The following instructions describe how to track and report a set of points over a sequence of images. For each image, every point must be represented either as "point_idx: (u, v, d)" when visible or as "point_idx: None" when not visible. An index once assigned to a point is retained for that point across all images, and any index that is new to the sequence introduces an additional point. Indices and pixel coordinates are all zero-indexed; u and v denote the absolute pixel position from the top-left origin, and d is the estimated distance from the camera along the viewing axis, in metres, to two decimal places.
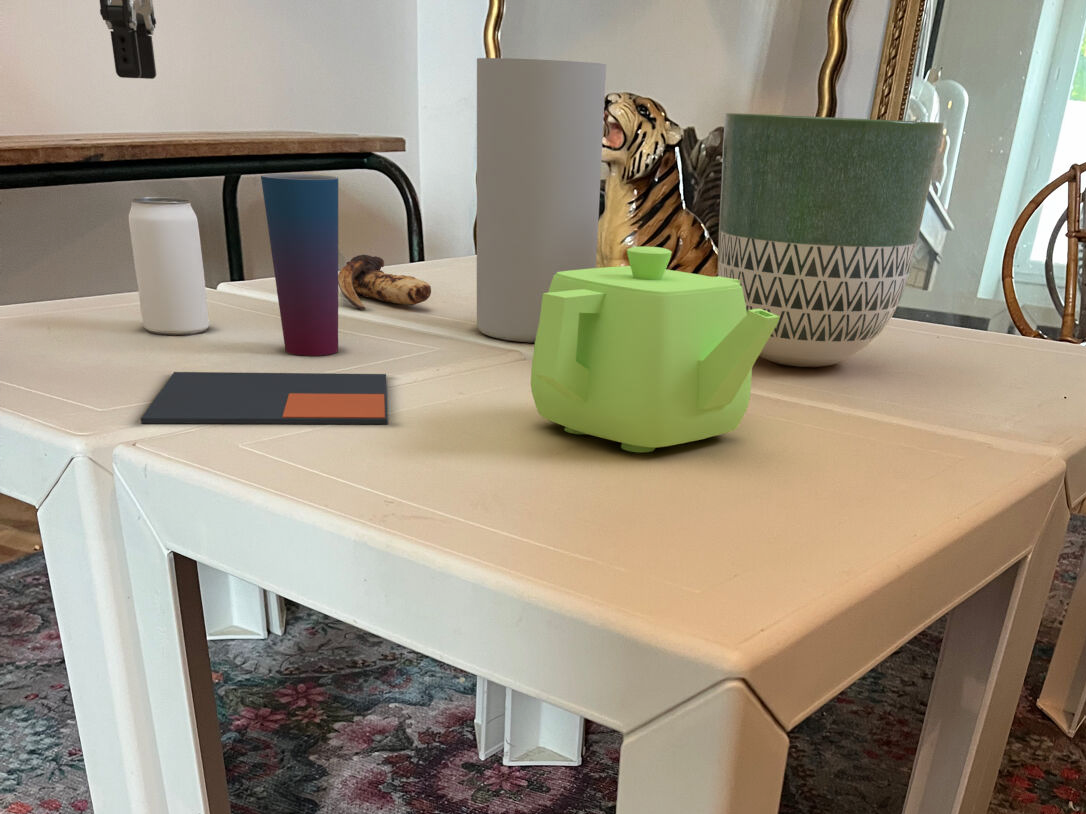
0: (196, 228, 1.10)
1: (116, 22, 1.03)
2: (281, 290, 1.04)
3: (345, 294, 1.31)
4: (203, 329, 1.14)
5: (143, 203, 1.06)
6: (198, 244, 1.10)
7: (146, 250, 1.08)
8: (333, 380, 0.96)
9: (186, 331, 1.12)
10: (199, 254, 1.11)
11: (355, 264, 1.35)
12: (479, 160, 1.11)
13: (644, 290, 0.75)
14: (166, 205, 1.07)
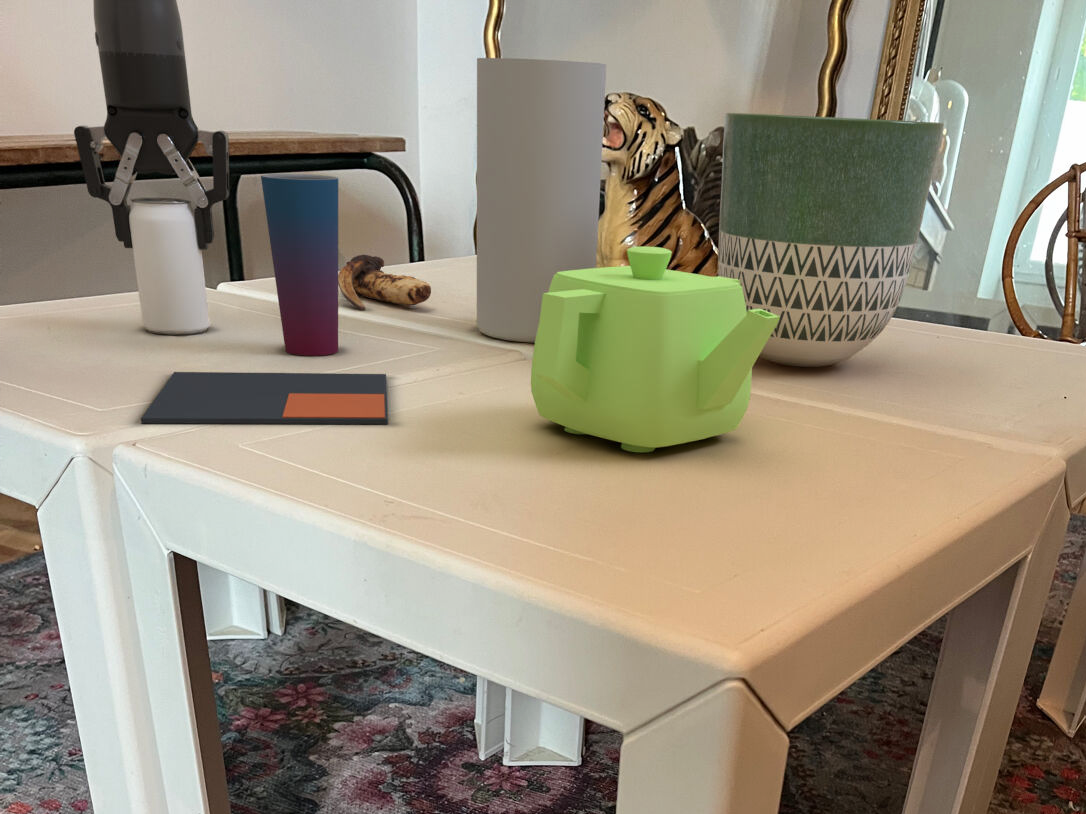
0: (196, 228, 1.10)
1: None
2: (281, 290, 1.04)
3: (345, 294, 1.31)
4: (203, 329, 1.14)
5: (143, 203, 1.06)
6: None
7: (146, 250, 1.08)
8: (333, 380, 0.96)
9: (186, 331, 1.12)
10: (199, 254, 1.11)
11: (355, 264, 1.35)
12: (479, 160, 1.11)
13: (644, 290, 0.75)
14: (166, 205, 1.07)
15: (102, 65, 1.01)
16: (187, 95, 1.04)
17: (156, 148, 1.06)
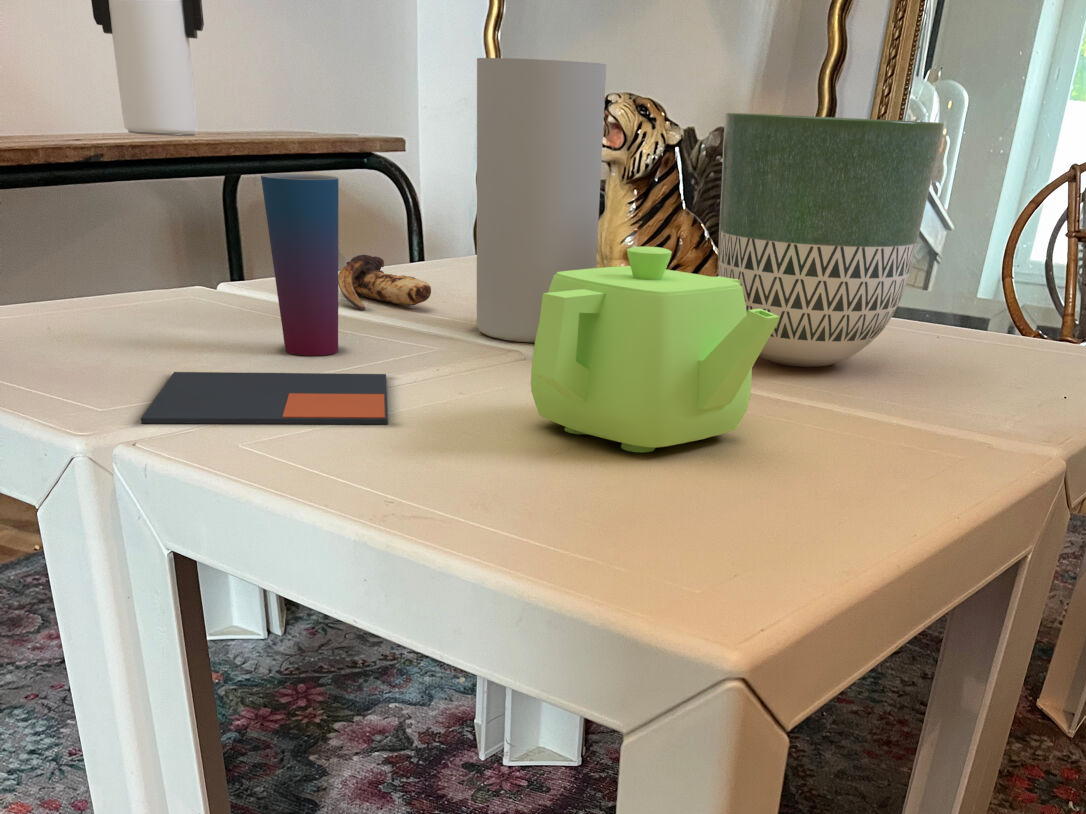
0: None
1: None
2: (281, 290, 1.04)
3: (345, 294, 1.31)
4: (191, 132, 1.03)
5: None
6: None
7: (128, 32, 0.97)
8: (333, 380, 0.96)
9: (172, 132, 1.01)
10: (187, 43, 1.00)
11: (355, 264, 1.35)
12: (479, 160, 1.11)
13: (644, 290, 0.75)
14: None
15: None
16: None
17: None
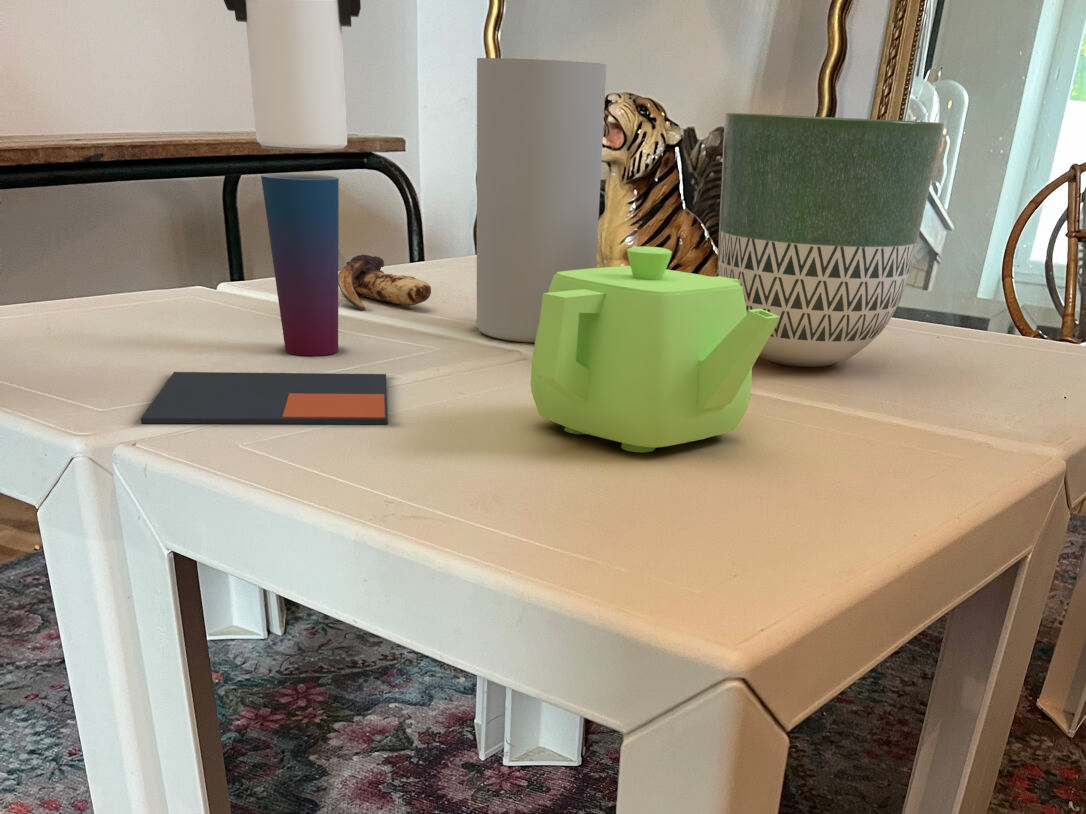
0: None
1: None
2: (281, 290, 1.04)
3: (345, 294, 1.31)
4: (341, 147, 0.81)
5: None
6: (340, 17, 0.77)
7: (270, 19, 0.75)
8: (333, 380, 0.96)
9: (320, 146, 0.79)
10: (340, 32, 0.78)
11: (355, 264, 1.35)
12: (479, 160, 1.11)
13: (644, 290, 0.75)
14: None
15: None
16: None
17: None
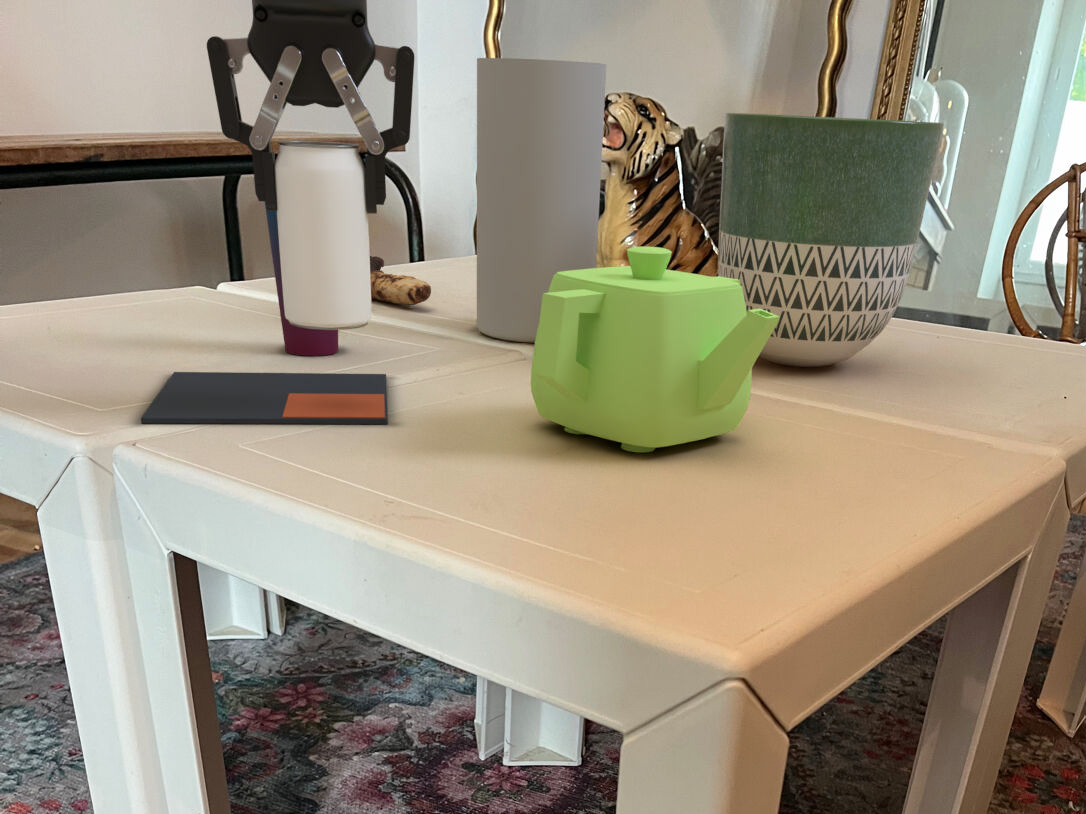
0: (365, 183, 0.80)
1: None
2: (281, 290, 1.04)
3: None
4: (365, 322, 0.84)
5: (299, 146, 0.77)
6: (366, 206, 0.81)
7: (300, 213, 0.78)
8: (333, 380, 0.96)
9: (346, 325, 0.83)
10: (366, 220, 0.81)
11: None
12: (479, 160, 1.11)
13: (644, 290, 0.75)
14: (330, 149, 0.77)
15: None
16: None
17: (318, 69, 0.76)
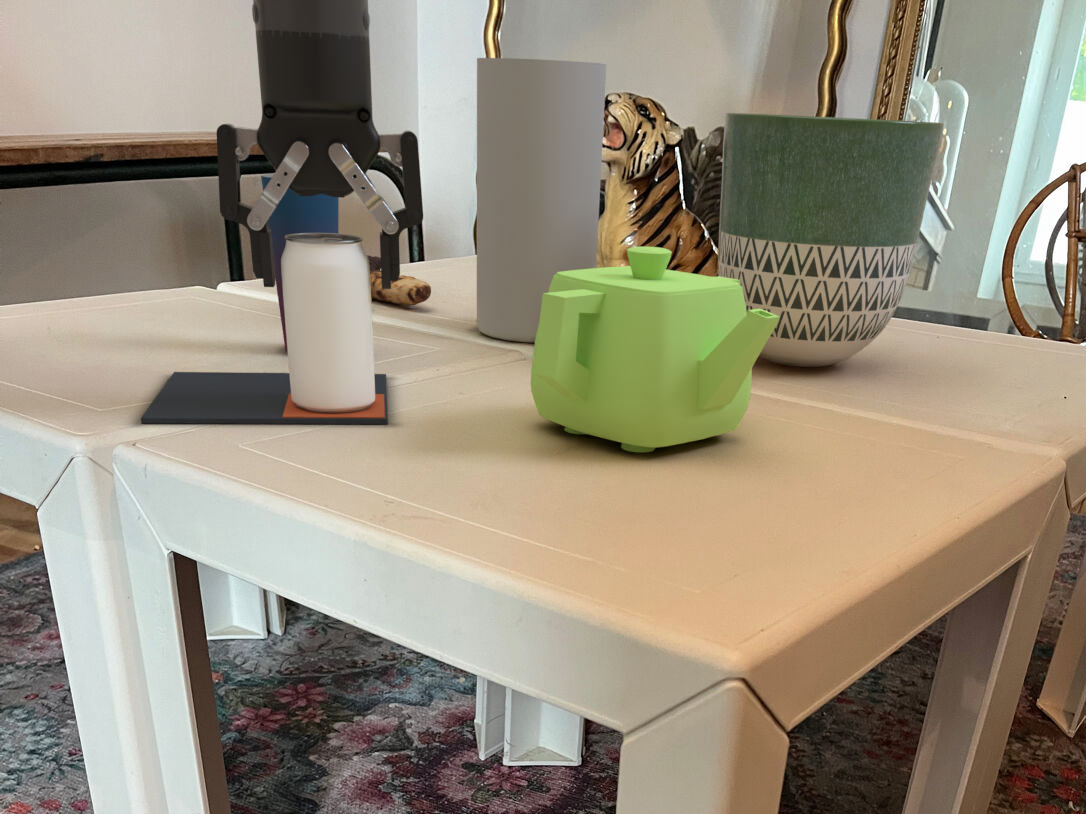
0: (368, 274, 0.83)
1: None
2: (281, 290, 1.04)
3: None
4: (369, 404, 0.87)
5: (305, 243, 0.80)
6: (370, 295, 0.84)
7: (306, 305, 0.81)
8: None
9: (350, 409, 0.86)
10: (370, 308, 0.84)
11: None
12: (479, 160, 1.11)
13: (644, 290, 0.75)
14: (335, 245, 0.80)
15: (261, 49, 0.74)
16: (370, 91, 0.77)
17: (325, 162, 0.78)
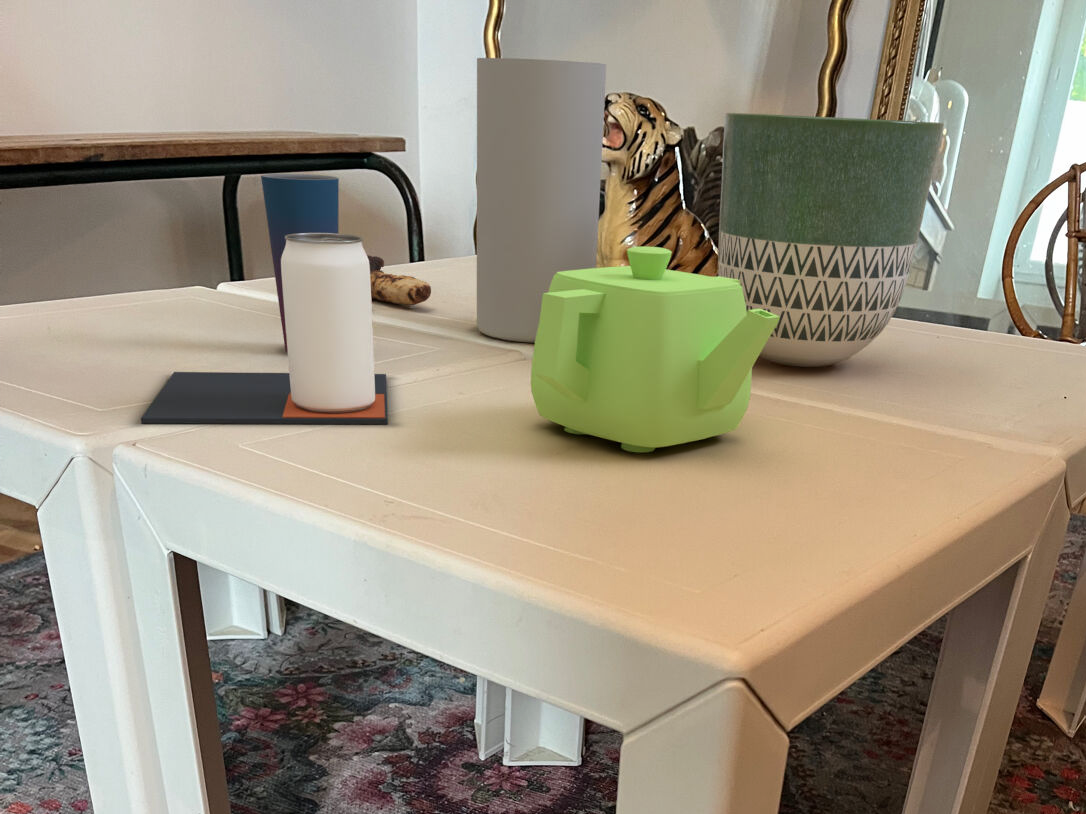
0: (368, 274, 0.83)
1: None
2: (281, 290, 1.04)
3: None
4: (369, 404, 0.87)
5: (305, 243, 0.80)
6: (370, 295, 0.84)
7: (306, 305, 0.81)
8: None
9: (350, 409, 0.86)
10: (370, 308, 0.84)
11: None
12: (479, 160, 1.11)
13: (644, 290, 0.75)
14: (335, 245, 0.80)
15: None
16: None
17: None
